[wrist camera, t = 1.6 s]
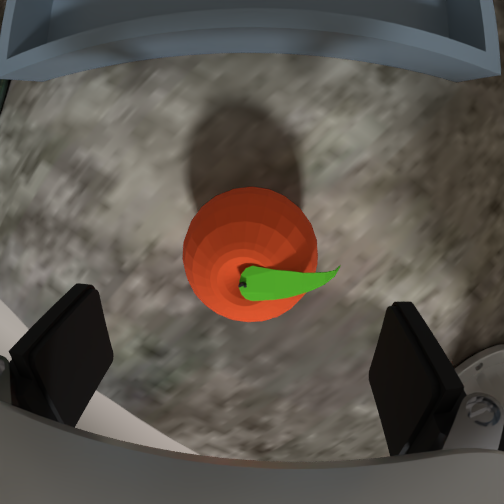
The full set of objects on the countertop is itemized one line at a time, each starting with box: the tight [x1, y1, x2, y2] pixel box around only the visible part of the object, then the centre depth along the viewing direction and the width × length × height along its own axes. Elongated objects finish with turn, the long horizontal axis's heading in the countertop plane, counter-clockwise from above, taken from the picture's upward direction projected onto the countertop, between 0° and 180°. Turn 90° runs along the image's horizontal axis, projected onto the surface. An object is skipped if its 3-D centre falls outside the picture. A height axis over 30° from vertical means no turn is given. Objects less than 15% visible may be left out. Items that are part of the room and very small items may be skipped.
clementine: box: [183, 187, 340, 322], centre depth 17 cm, size 8×7×7 cm
